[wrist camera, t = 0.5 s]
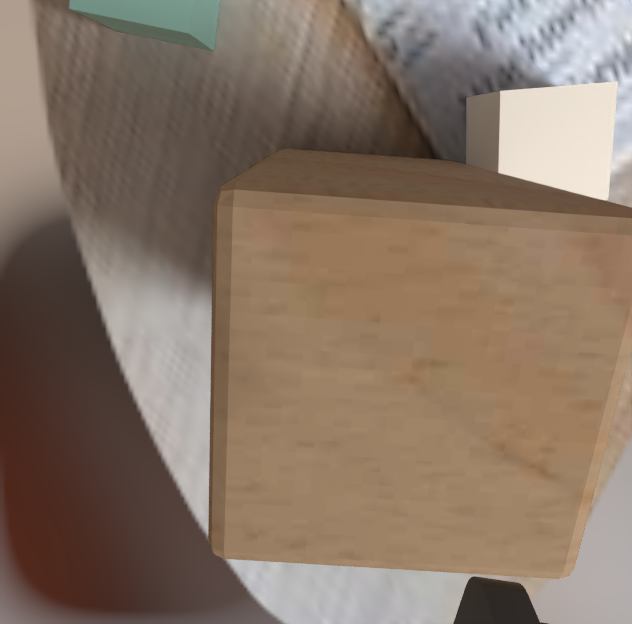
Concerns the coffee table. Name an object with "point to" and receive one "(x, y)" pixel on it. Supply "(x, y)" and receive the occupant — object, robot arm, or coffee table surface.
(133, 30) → the teal block
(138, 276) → the coffee table surface
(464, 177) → the wooden block
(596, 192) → the cream block
